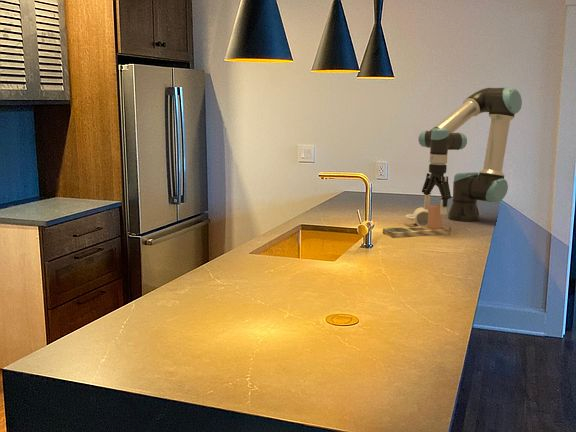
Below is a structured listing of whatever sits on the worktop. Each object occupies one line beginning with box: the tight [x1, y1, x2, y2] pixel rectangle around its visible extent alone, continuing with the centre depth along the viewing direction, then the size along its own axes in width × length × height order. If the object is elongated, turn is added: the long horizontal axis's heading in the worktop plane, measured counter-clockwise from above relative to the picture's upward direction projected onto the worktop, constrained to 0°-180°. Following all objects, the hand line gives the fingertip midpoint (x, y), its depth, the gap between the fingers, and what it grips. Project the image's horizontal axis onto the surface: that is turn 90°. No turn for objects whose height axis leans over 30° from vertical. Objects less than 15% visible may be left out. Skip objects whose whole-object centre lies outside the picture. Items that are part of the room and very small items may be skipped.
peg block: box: [427, 204, 443, 230], centre depth 292 cm, size 4×4×12 cm
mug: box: [404, 206, 428, 226], centre depth 307 cm, size 12×10×8 cm
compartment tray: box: [382, 225, 451, 239], centre depth 290 cm, size 28×10×2 cm, turn 109°
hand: (434, 211), depth 291 cm, fingers open, 13 cm apart
